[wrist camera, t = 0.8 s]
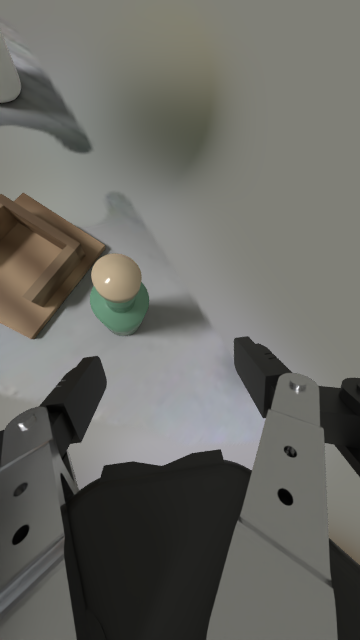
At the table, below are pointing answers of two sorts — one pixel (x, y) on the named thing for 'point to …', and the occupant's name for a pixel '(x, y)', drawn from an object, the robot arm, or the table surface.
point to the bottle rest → (38, 263)
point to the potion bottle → (8, 75)
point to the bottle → (118, 294)
